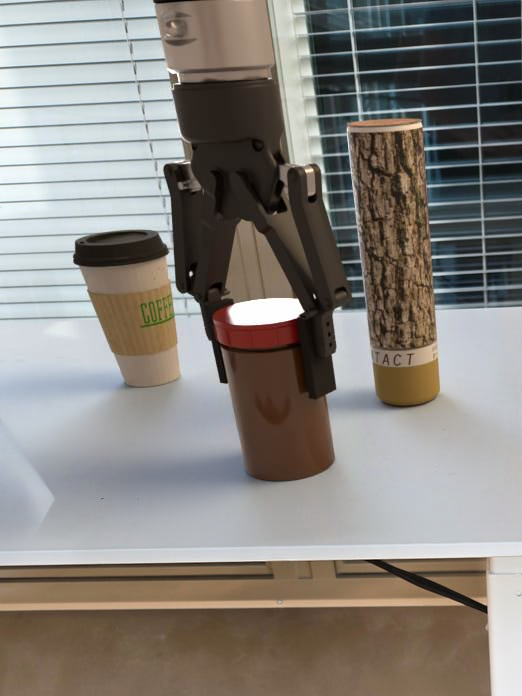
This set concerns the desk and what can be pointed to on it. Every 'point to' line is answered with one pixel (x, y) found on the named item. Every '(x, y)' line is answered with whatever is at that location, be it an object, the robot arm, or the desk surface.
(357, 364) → the desk surface
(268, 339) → the lid
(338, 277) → the robot arm
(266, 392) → the jar
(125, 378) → the coffee cup
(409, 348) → the paper tube
